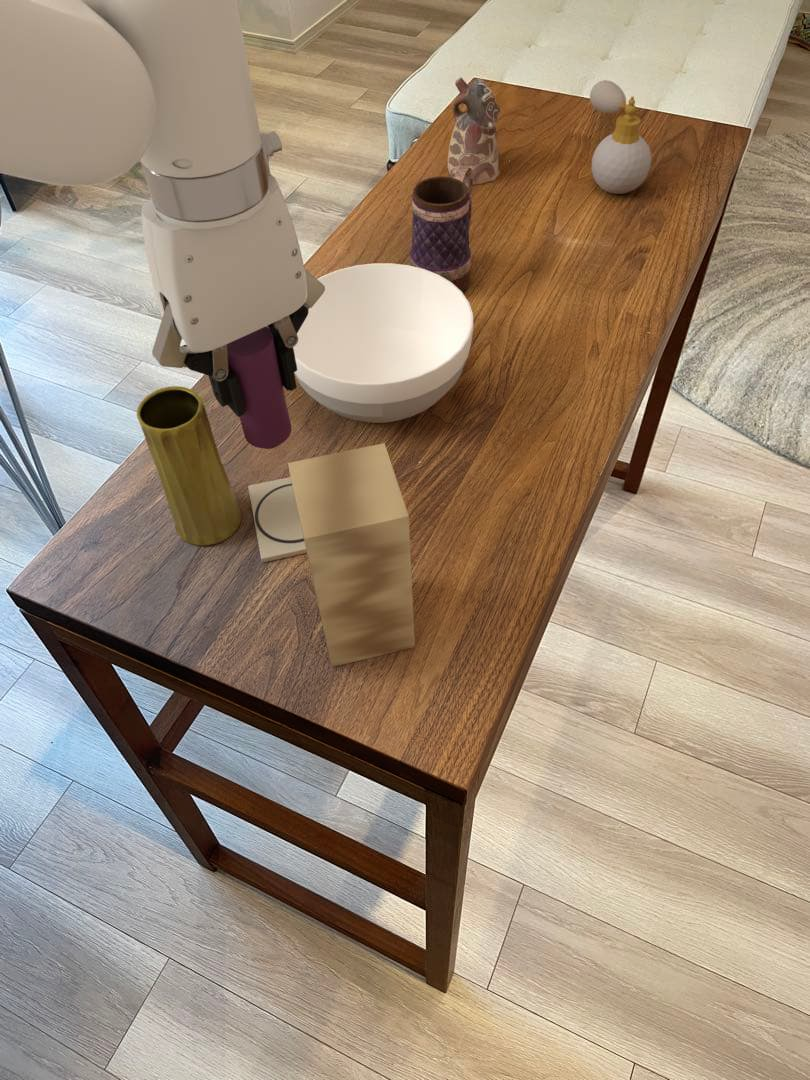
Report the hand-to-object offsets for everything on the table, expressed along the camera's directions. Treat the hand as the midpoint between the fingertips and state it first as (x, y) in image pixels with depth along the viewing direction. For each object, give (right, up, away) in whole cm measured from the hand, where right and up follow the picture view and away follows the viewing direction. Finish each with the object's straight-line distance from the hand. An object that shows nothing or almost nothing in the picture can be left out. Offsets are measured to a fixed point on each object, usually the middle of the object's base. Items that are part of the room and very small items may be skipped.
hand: (258, 391), depth 67 cm
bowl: (+9, +4, +21) cm, 23 cm away
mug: (+17, +20, +33) cm, 42 cm away
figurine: (+21, +38, +47) cm, 64 cm away
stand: (+8, -19, +3) cm, 21 cm away
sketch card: (+3, -9, +11) cm, 15 cm away
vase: (-6, -10, +11) cm, 16 cm away
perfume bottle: (+39, +35, +44) cm, 68 cm away
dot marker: (0, -3, +4) cm, 5 cm away
